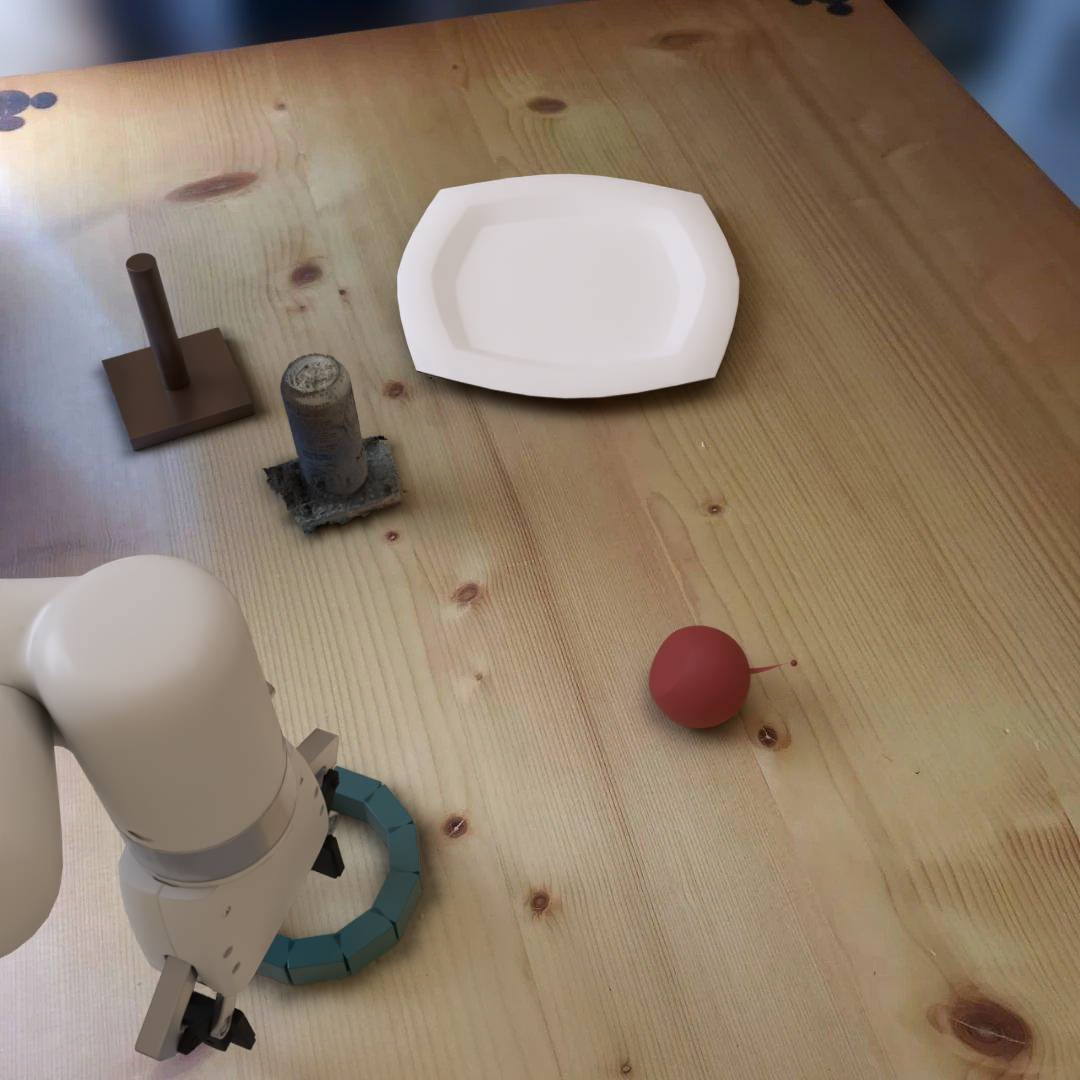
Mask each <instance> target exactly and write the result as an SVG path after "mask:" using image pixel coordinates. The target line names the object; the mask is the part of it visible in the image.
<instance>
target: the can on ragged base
mask: <svg viewBox="0 0 1080 1080" xmlns="http://www.w3.org/2000/svg"><path fill="white" fill-rule="evenodd" d="M279 384H280V385H279V389H280V395H281V399H282V402H283V407H284V411H285V414H286V417H287V421H288V425H289V429H290V433H291V435H292V439H293V444H294V447H295V451H296V452H295V453H296V455H297V457H295V459H290V460H288V461H285V462H283V463H278V464H277V465H272V466H269V467H263V468H262V470H263V473H264V474H265V475H266V480H265V482H266V485H268V486H269V490H270V491H272V490H273V491H274V492H275V493H274V494H275V495H276V494H278V493H279V494H280V495H281V496H282V500H283V503H284V504H285V505H286V510H287V511H291V512H290V513H291V517H292V518H294V519H293V520H294V521H295V523H297V524H298V525H299V526H300V527H301V528H302V531H303V534H306V533H308V534H310V535H311V534H312V533H313V531H314V530H315V528H316V527H317V526H320V525H324V526H325V525H326V524H327V522H329V525H330V526H331V525H333V524H334V523H339V524H340V525H343V524H348V523H350V522H351V521H352V520H353V518H356V517H359V516H362V517H363V519H364V518H365V517H367V515H369V513H372V512H377V511H379V510H380V509H382V508H383V509H384V508H395V507H396V506H397V507H398V506H400V505H402V504H403V503H402V500H403V492H402V491H400V489H399V486H400V484H399V483H398V480H400V479H401V477H400V474H399V471H398V468H397V464H395V463H396V462H395V460H394V455H393V456H392V451H391V446H390V445H389V443H386V444H383V441H388V438H387V437H385V435H381V434H379V435H372V436H371V435H370V436H368V437H365V438H363V437H362V431H361V425H360V420H359V414H358V410H357V405H356V400H355V396H354V390H353V389H354V388H353V385H352V380H351V376H350V373H349V371H348V369H347V368H346V366H344V365H343V364H342V363H341V362H340V361H339V360H337V359H336V358H335V357H334V356H333V355H331V354H328V353H327V354H324V353H319V352H318V353H316V352H314V353H309V354H306V355H300V356H299V357H296V359H294V360H292V361H290V362H289V363H288V364H287V367H286V368H285V371H284V372H283V374H282V376H281V379H280V383H279ZM387 455H390V456H387Z"/></svg>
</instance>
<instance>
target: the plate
mask: <svg viewBox="0 0 1080 1080" xmlns="http://www.w3.org/2000/svg"><path fill="white" fill-rule="evenodd" d="M708 205H709V204H708V203H707V202H706V201H705V199H704V197H703V195H702V194H700V193H695V192H691V191H686V190H682V189H677V188H672V187H668V186H662V185H657V184H653V183H647V182H642V181H638V180H632V179H627V178H626V179H625V178H619V177H610V176H605V175H595V174H594V175H592V174H581V173H580V174H579V173H578V174H577V173H554V174H553V173H551V174H536V175H535V174H534V175H525V176H517V177H515V176H514V177H506V178H502V179H501V178H500V179H493V180H488V181H481V182H476V183H475V182H474V183H468V184H464V185H459V186H458V185H457V186H452V187H445V188H442V189H439V191H438V192H437V193H436V195H435V196H434V198H433V199H432V201H431V202H430V204H429V205H428V207H427V208H426V210H425V211H424V213H423V214H422V216H421V218H420V219H419V222H418V223H417V225H416V226H415V228H414V229H413V231H412V234H411V236H410V238H409V240H408V242H407V244H406V247H405V249H404V250H403V254H402V256H401V260H400V264H399V267H398V270H397V273H396V274H397V276H396V277H397V279H396V280H397V282H396V283H397V285H396V286H397V288H396V291H397V292H396V297H397V303H398V308H399V309H398V310H399V314H400V315H399V316H400V322H401V325H402V329H403V333H404V336H405V341H406V345H407V347H408V350H409V353H410V356H411V358H412V362H413V365H414V367H415V370H416V372H417V373H420V374H425V375H428V376H432V377H436V378H440V379H442V380H443V379H444V380H448V381H451V382H455V383H459V384H462V385H463V384H464V385H468V386H472V387H476V388H481V389H485V390H488V391H493V392H498V393H506V394H510V395H511V394H512V395H516V396H522V397H529V398H541V399H542V398H543V399H556V400H588V399H590V400H591V399H594V400H595V399H605V398H613V397H622V396H630V395H638V394H639V395H640V394H643V393H644V394H645V393H648V392H654V391H660V390H664V389H671V388H675V387H680V386H684V385H685V386H686V385H690V384H694V383H698V382H703V381H709V380H713V379H715V378H716V375H717V373H718V370H719V368H720V366H721V364H722V361H723V358H724V356H725V353H726V350H727V347H728V344H729V342H730V339H731V335H732V332H733V328H734V326H735V321H736V320H735V319H736V315H737V310H738V306H739V298H740V297H739V295H740V277H739V273H738V270H737V265H736V261H735V257H734V255H733V253H732V250H731V248H730V246H729V243H728V240H727V239H726V236H725V234H724V232H723V230H722V228H721V227H720V225H719V222H718V221H717V218H716V217H715V215H714V214H713V212H712V210H711V209H710V207H709V206H708Z"/></svg>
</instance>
